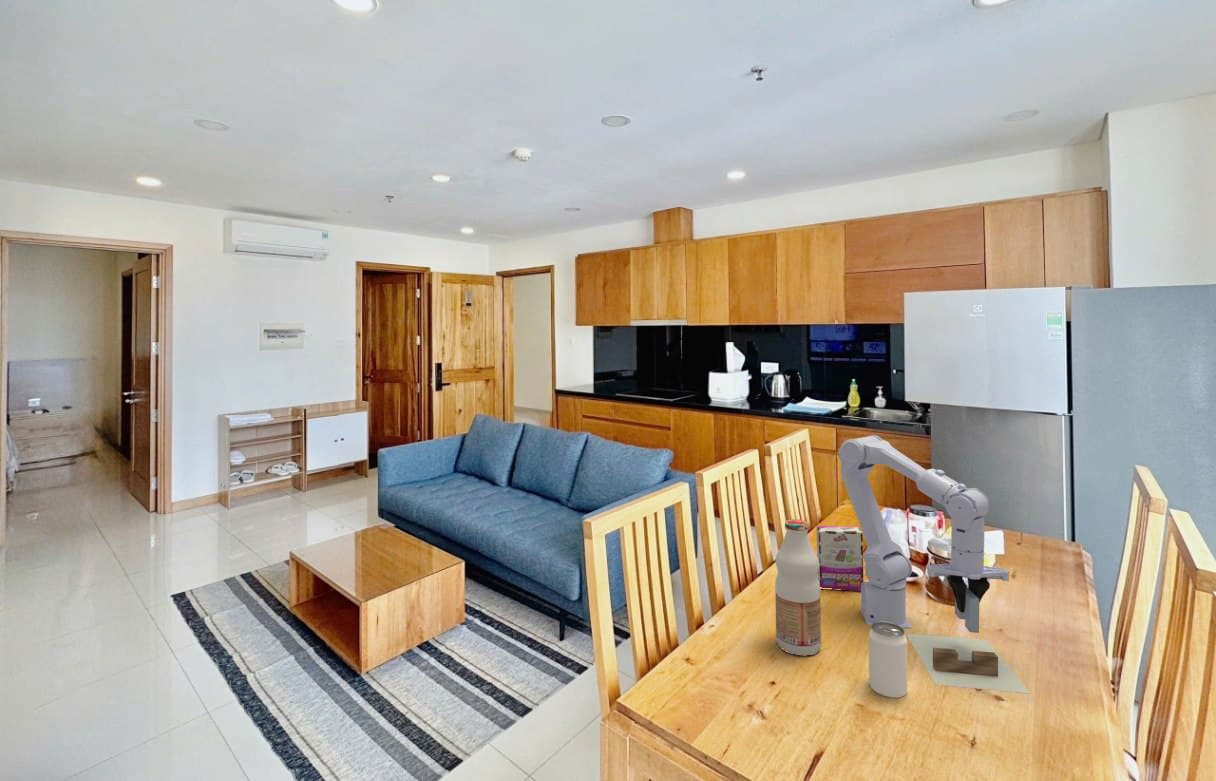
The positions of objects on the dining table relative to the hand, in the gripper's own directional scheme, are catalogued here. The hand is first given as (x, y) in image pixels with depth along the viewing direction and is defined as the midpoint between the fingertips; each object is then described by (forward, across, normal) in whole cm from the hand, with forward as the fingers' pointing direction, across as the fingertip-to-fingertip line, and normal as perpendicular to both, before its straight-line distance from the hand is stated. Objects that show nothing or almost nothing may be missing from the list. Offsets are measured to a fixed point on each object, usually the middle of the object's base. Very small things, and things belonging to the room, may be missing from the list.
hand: (966, 610), depth 114 cm
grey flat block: (+3, 0, 0) cm, 3 cm away
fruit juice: (+10, -34, -3) cm, 35 cm away
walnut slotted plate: (+9, -3, -8) cm, 12 cm away
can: (+10, -19, -16) cm, 26 cm away
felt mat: (+9, -2, -4) cm, 10 cm away
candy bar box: (+10, -20, +30) cm, 37 cm away
